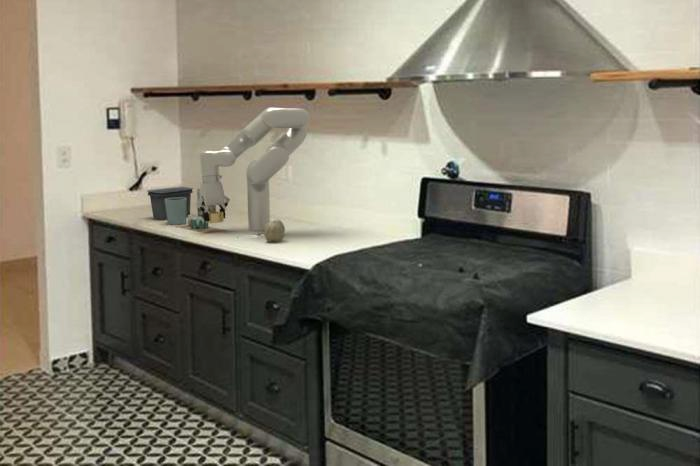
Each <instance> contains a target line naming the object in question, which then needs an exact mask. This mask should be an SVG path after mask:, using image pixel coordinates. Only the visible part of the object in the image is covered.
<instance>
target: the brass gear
mask: <svg viewBox="0 0 700 466" xmlns="http://www.w3.org/2000/svg"><path fill="white" fill-rule="evenodd" d="M208 215H209V221H208V222H207V221H206V223H208V224H218V223H223V222H224V221H225V219H224V217H223V212H220V211H219V210H217V211H216V212H208Z"/></svg>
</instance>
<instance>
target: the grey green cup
mask: <svg viewBox="0 0 700 466" xmlns="http://www.w3.org/2000/svg"><path fill="white" fill-rule="evenodd" d="M165 206H166V213H167V219H166V220H167V224H168V225H170V226H183V225H187V217H186V198H183V197H176V198H167V199H165Z"/></svg>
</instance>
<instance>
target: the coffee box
mask: <svg viewBox="0 0 700 466" xmlns="http://www.w3.org/2000/svg"><path fill="white" fill-rule="evenodd" d="M199 200H200V188H197V189H196V201H197V202H198V201H199ZM197 202H196V203H197ZM201 206H202V205H201ZM196 207H197V206H196ZM202 207H203V206H202ZM207 212H217V205H214V206H209V207H208V210H207ZM197 217H202V218H203V212H202V211H201V210H200V209H199V208H198V207H197Z"/></svg>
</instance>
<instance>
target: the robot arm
mask: <svg viewBox="0 0 700 466" xmlns="http://www.w3.org/2000/svg"><path fill="white" fill-rule="evenodd" d="M310 116H311V115H310V114H309V112H308V111H307V110H306V109H304V108H300V107H296V108H291V107H290V108H289V107H288V108H287V107H283V108H282V107H274V106H273V107H272V106H271V107H268V108H265V109H264V110H263V111H262V112H261V113H260V114H258V115H257V116H256V117H255V118H254V119H253V120H252V121H251V122H249V124H248V125H246V126H245V127H244V128H243V129H242V130H241V131H240V132H239V133H238V134H237V135H236V136H235V137H234V138H232V139H231V140H230V141H229V142H228V143H227V144H226V145H225V146H223V147H222V148H221V149H220V150H209V149H208V150H203V151H201V152H200V153H199V159H200V161H199V163H200V172H201V181H202V182H201V183H200V186H199V189H200V200H199V201H198V202H196V203H195V206H196V207H198V208H199V209H200V210H201V211H202V212H203V219H204V221H207V222H208V221H209V215H208V212H207V210H208V207H209V206H214V205H216V206H218V207H219V210H218V211H220V212H223V217H224V220H225V219H226V209H227V206H228V205H229V203H230V201H231V199H230V198H229V197H228V196H227V195H225V192H224V191H225V190H224V187H223V183H222V181H221V179H222V178H223V176H222V175H220V168H219V167H221V168H223V167H224V168H225V167H227V168H228V167H232V166H234V164H235V163H236V161H237V159H238V158H239V157H241V155H243V153H245V152H246V151H247V150H248V149H251V148H252V147H254V146H255V145H257V144H259V143H260V142H261V141H262V140H263V139H264V138H265V137H266V136H268V134H270V133H271V132H272V131H273V130H274V129H286V131H285V132H283V134H282V135H281V136H280V137H279V138H278V139H276V141H274V143H272V144H271V145H270V146H268V147H267V149H266V151H265V152H264V153H263V154H262V155H261V156H260V157H259V158H258V159H256V160H253V161H251V162H250V163H249V164H248V165H247V167H246V173H245V174H246V191H247V220H248V221H247V222H248V225H247V226H248V231H252V232H261V233H259V235H263V234H262V233H263V232H264V228H265V226H266V225H267V224H268V223H269V222H271V210H270V208H271V206H270V179H271V178H272V177H274V176H275V175H276V174H277V173H278V172H280V170H282V168H284V167H285V166H286V165H287V163H288V161H289V158H290V156H291V155H292V154H293V153H294V152H295V151H296V150H297V149H298V148H300V146H301V145H302V144H303V143H304V141H305V140H306V137H307V134H308V132H309V123H310V120H311V119H310ZM201 205H202V206H203V207H202V206H201Z"/></svg>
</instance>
